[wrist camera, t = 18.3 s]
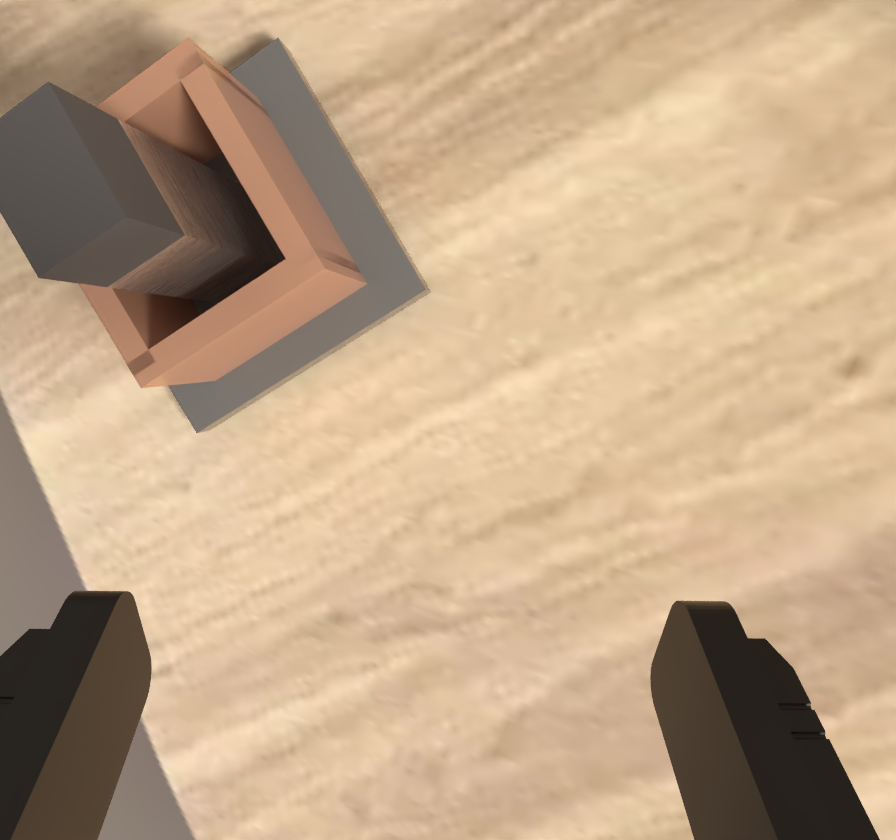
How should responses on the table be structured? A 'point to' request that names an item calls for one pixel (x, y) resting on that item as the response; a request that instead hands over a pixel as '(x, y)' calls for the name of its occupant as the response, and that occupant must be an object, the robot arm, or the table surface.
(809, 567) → the table surface
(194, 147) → the box
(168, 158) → the grey block
